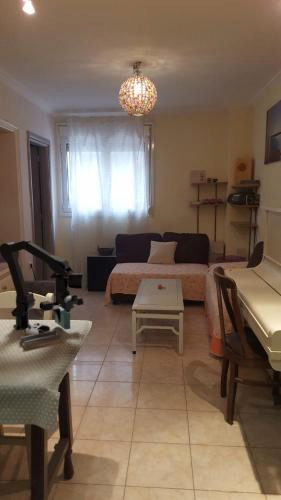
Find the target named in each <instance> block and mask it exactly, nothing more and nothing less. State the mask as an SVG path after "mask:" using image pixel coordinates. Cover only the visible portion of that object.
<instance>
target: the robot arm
mask: <svg viewBox="0 0 281 500" xmlns="http://www.w3.org/2000/svg"><path fill="white" fill-rule="evenodd" d="M20 251H26V252H28V253H29V254H30V255H33V256H34V257H36V258H37V259H39V260H40V261H42V262H44V263H45V264H46V265H47V267H49V269H50V270H51V271H53V273H52V274H51V275H50V276H49V278H50V279H54V289H53V291H54V298H53V299H54V300H53V301H54V302H52V301H49V300H45V301H40V303H39V309H40V310H41V311H43V312H47V311H53V313H54V316H55V315H56V317H57V319H58V322H59V323H60V310H61V309H59V306H60V307H61V308H63V309H64V310H66V311H67V312H69V313H71V310H73V309H74V308H75V305H77V306H82V305H84V301H85V300H84V298H82V297H81V296H78V295H76V294H75V295H74V294H73V295H70V290H71V289H74V290H84V289H85V287H86V281H87V280H86V277H85V275H84V273H75V272H74V270H73V269H72V268H71V265H70V263H69V261H68V260H67V259H65V258H62V257H61V256H57V255H54V254H51V253H50V252H49V251H47V250H45V249H44V248H42V247H41V246H39V245H37V244H36V243H34V242H33V241H31V240H30V239H24V240H21V241H17V242H14V241H8V242H4V243H2V244H0V256H1V258H2V259H3V261H5V263H6V264H7V266H8V270H9V273H10V274H9V275H10V278H11V280H12V284H13V287H14V290H15V293H16V295H15V306H16V307H15V308H14V309H13V310H12V311H10V312H11V315H12V317H15V324H13V327H14V328H15V329H16V331H18V330H19V331H20V330H25V329H27V328H28V327H30V326H31V325H32V324H30V321H29V319H30V318H29V313H30V312H31V311H32V309H33V308H34V306H35V304H36V303H35V302H36V299H35V296H34V293H33V292H31V293H30V292H29V291H28V288H27V285H26V283H25V278H24V276H23V273H22V268H21V266H20V263H19V257H20ZM69 288H70V290H69Z"/></svg>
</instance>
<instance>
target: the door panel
mask: <svg viewBox="0 0 281 500" xmlns="http://www.w3.org/2000/svg"><path fill="white" fill-rule="evenodd" d="M59 309H61V310H60V323H59V322H58V319H57V317H56V315H55V314H54V322H55V324H57V325H59V326H60V327H61V328H63V330H70V329H71V312H67V311H66V310H64V308H62V306H59Z"/></svg>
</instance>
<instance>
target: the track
mask: <svg viewBox="0 0 281 500" xmlns="http://www.w3.org/2000/svg"><path fill="white" fill-rule="evenodd" d="M19 339H20V340H19V341H18V342H19V344H20V345H21V346H22V347H23V348H24V350H25V349H26V350H25V351H29V349H30V350H33V349H38V348H42V347H46V346H52V345H56V344H60V343H63V342H64V340H63V338H62V333H58V334H57V330H56V329H54V330H49V331H43V332H39V334H34V335H29V336H27V335H24V336H21V337H20V338H19Z"/></svg>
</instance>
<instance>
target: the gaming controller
mask: <svg viewBox="0 0 281 500" xmlns="http://www.w3.org/2000/svg"><path fill="white" fill-rule="evenodd" d="M30 325H31V326H30V327H28V328H25V329H24V330H25V335H24V336H29V335H34V334H39V333H40V332H39V331H43V332H48V331H51V327H50V326H49V324H44V323H39V322H36V323H32V324H30Z"/></svg>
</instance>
